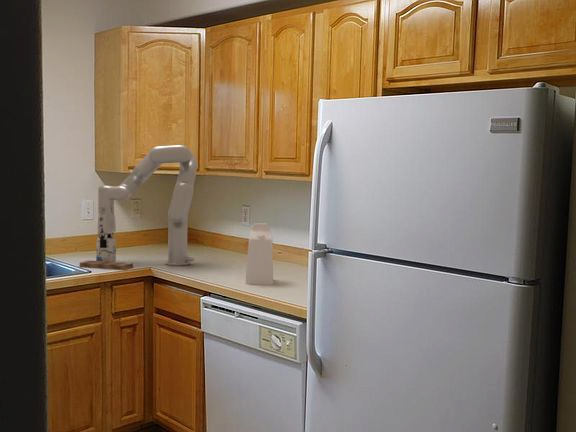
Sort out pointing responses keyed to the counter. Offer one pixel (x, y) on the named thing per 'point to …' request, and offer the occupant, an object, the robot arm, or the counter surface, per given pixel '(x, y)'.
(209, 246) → the counter surface
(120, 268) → the board
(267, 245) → the milk
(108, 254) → the ink box
